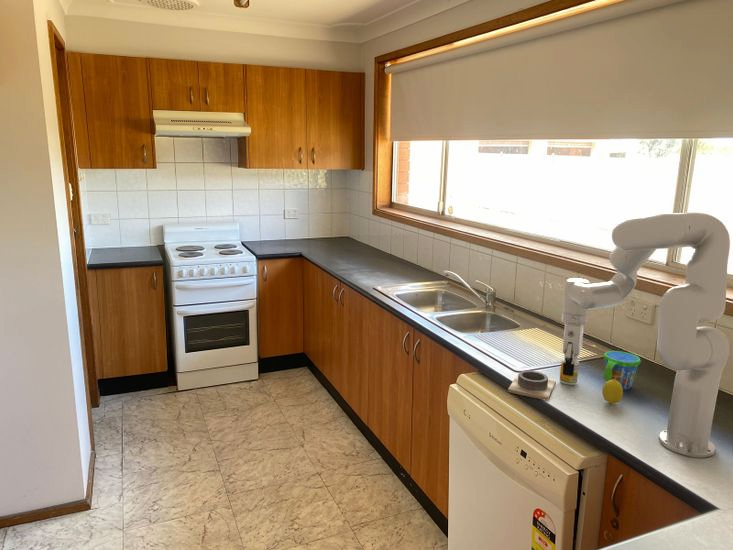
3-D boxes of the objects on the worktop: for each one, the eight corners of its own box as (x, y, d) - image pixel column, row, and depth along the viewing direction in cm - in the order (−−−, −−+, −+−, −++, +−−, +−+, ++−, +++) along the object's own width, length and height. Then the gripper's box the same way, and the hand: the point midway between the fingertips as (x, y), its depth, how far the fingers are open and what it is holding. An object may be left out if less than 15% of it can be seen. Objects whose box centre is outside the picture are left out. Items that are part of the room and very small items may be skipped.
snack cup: (618, 375, 187) (622, 347, 185) (648, 387, 178) (652, 357, 176) (588, 384, 179) (592, 354, 177) (617, 397, 171) (621, 366, 168)
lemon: (624, 404, 165) (627, 379, 164) (616, 410, 162) (619, 384, 160) (605, 398, 169) (608, 374, 167) (597, 404, 165) (600, 379, 164)
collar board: (547, 400, 167) (549, 388, 166) (507, 391, 172) (508, 379, 171) (555, 384, 179) (556, 372, 178) (517, 376, 184) (519, 365, 184)
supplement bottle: (561, 377, 183) (563, 349, 181) (578, 380, 181) (581, 352, 179) (557, 382, 179) (560, 354, 177) (575, 386, 176) (578, 357, 174)
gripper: (583, 326, 166) (578, 383, 170) (590, 313, 181) (584, 365, 185) (557, 322, 170) (552, 378, 173) (566, 309, 184) (561, 361, 188)
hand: (569, 371), depth 179 cm, fingers closed on supplement bottle, 5 cm apart
